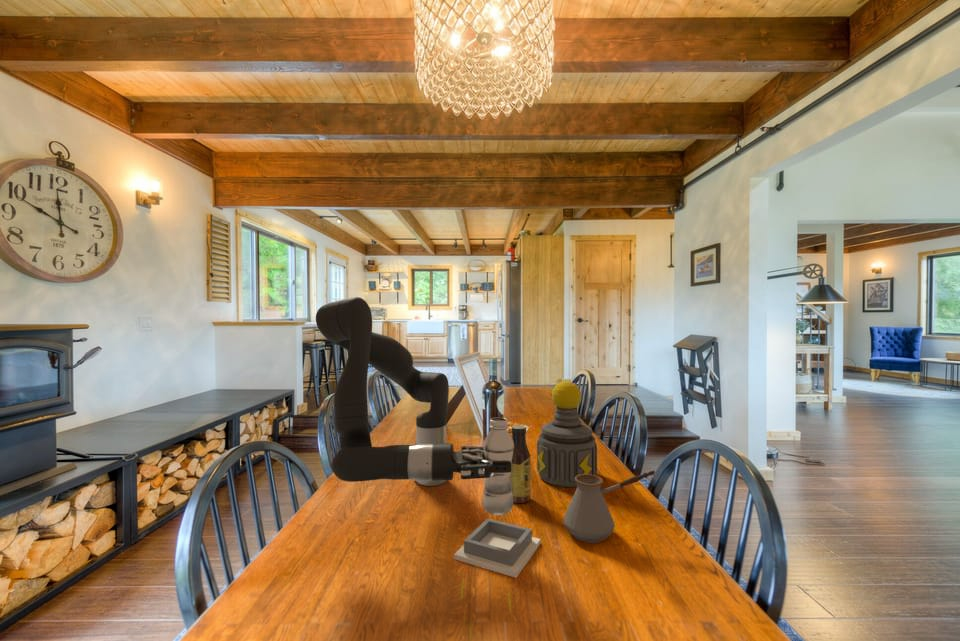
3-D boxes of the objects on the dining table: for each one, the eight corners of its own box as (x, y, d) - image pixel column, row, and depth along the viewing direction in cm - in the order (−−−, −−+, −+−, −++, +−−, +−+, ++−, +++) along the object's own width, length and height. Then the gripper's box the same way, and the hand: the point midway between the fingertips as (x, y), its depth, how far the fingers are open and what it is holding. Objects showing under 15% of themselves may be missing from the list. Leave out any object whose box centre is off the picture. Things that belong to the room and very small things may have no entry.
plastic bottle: (480, 505, 95) (481, 416, 94) (511, 505, 95) (511, 415, 95) (483, 519, 88) (484, 423, 88) (515, 518, 89) (516, 422, 88)
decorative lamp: (572, 462, 146) (572, 375, 146) (611, 482, 129) (610, 383, 129) (525, 471, 138) (524, 379, 138) (559, 493, 121) (559, 388, 121)
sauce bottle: (529, 505, 114) (529, 431, 114) (506, 503, 115) (505, 429, 115) (531, 495, 120) (531, 424, 120) (509, 493, 121) (509, 423, 121)
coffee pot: (567, 546, 93) (567, 478, 93) (560, 521, 105) (560, 460, 105) (667, 549, 92) (667, 480, 92) (649, 523, 104) (649, 462, 103)
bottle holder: (454, 559, 89) (454, 542, 89) (484, 528, 101) (484, 514, 101) (516, 577, 82) (516, 559, 82) (540, 543, 95) (540, 527, 95)
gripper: (428, 455, 84) (513, 454, 84) (433, 434, 98) (506, 434, 99) (428, 493, 84) (513, 492, 84) (433, 467, 98) (506, 466, 99)
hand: (509, 461), depth 92 cm, fingers closed on plastic bottle, 6 cm apart
